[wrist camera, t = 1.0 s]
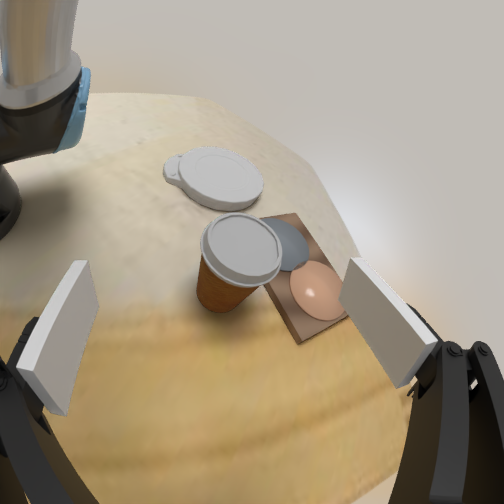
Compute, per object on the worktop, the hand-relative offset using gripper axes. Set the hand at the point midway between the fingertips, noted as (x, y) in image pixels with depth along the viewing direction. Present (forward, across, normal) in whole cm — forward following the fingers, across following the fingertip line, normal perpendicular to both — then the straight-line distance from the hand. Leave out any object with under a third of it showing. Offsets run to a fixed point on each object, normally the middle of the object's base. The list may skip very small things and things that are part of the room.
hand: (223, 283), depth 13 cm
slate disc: (+29, +13, -12) cm, 34 cm away
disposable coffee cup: (+21, +2, -16) cm, 26 cm away
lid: (+43, +2, -5) cm, 43 cm away
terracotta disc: (+22, +18, -17) cm, 33 cm away
